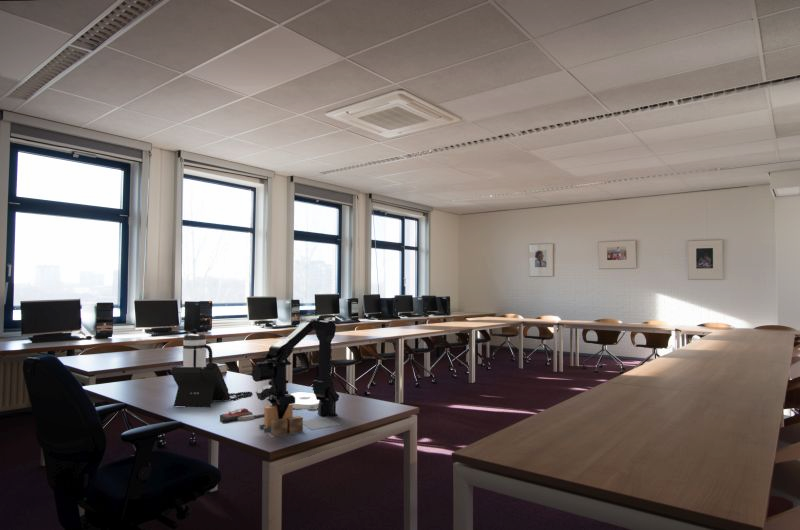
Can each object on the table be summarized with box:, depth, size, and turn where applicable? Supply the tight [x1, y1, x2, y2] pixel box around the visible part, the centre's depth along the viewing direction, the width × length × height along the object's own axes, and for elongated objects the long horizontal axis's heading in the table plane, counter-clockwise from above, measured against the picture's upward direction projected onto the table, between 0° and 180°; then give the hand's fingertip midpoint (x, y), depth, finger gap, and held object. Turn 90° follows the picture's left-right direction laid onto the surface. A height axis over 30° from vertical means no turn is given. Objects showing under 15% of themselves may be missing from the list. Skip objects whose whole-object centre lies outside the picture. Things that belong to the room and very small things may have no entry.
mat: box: [303, 417, 341, 431], centre depth 193 cm, size 12×13×1 cm
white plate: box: [289, 391, 319, 411], centre depth 229 cm, size 22×22×3 cm
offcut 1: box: [271, 418, 288, 437], centre depth 179 cm, size 5×3×5 cm, turn 125°
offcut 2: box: [287, 415, 304, 434], centre depth 182 cm, size 5×3×5 cm, turn 125°
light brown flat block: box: [263, 404, 294, 427], centre depth 188 cm, size 10×3×7 cm, turn 125°
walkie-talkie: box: [219, 407, 265, 424], centre depth 202 cm, size 9×4×20 cm
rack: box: [258, 423, 306, 438], centre depth 185 cm, size 13×15×2 cm
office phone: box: [170, 361, 254, 408], centre depth 236 cm, size 29×28×20 cm
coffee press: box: [182, 328, 213, 369], centre depth 285 cm, size 17×16×30 cm
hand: (278, 418), depth 188 cm, fingers closed on light brown flat block, 3 cm apart
